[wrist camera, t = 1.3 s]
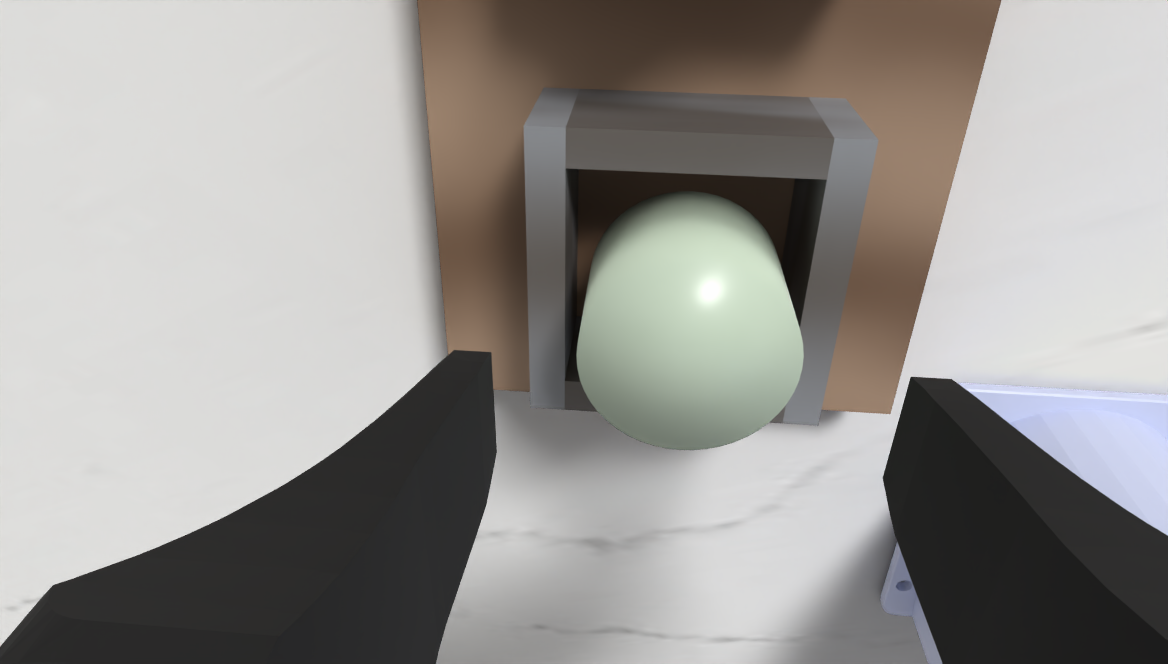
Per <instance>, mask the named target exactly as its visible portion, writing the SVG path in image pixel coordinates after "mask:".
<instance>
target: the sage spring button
mask: <svg viewBox="0 0 1168 664" xmlns="http://www.w3.org/2000/svg"><path fill="white" fill-rule="evenodd" d="M576 356H577V369H578V373H579V378H580V381H581V384H582V386H583V389H584V391H585V393H586V395H587V397H588V399H589V400H590V402H591V403H592V405H593V406H594V407H595V409H596V410H597V411H598V412H599V413H600V414H601V415H602V416H603V417H604V418H605V419H606V421H608V422H609V423H610V424H612V425H613V426H614V427H615V428H617V429H618V430H620V431H621V432H623V433H625V434H626V435H628V436H630V437H632V438H635V439H637V440H639V441H641V442H644V443H647V444H650V445H654V446H658V447H662V448H668V449H676V450H700V449H709V448H714V447H720V446H723V445H727V444H730V443H733V442H736V441H738V440H740V439H743V438H745V437H747V436H749V435H751V434H753V433H754V432H756V431H758V430H759V429H761V428H762V427H764V426H765V425H766V424H768V423H769V422H770V421H771V420H772V419H773V418H774V417H776V416H777V415H778V414H779V413H780V411H781V410H782V409H783V408H784V407H785V405H786V404H787V403H788V401H789V400H790V398H791V396H792V395H793V393H794V391H795V389H796V387H797V384H798V382H799V379H800V375H801V372H802V367H803V358H804V352H803V341H802V336H801V332H800V328H799V325H798V321H797V318H796V315H795V311H794V308H793V305H792V301H791V298H790V295H789V291H788V288H787V285H786V281H785V278H784V275H783V271H782V268H781V265H780V261H779V258H778V255H777V252H776V249H775V246H774V244H773V241H772V239H771V238H770V236H769V234H768V232H767V231H766V229H765V228H764V227H763V226H762V224H761V223H760V222H759V221H758V220H757V219H756V218H755V217H754V216H753V215H752V214H751V213H750V212H748V211H747V210H745V209H744V208H743V207H741V206H740V205H738V204H736V203H734V202H732V201H730V200H728V199H725V198H722V197H720V196H717V195H713V194H708V193H703V192H694V191H679V192H672V193H665V194H661V195H658V196H654V197H651V198H649V199H646V200H644V201H641V202H640V203H638V204H636V205H634V206H632V207H631V208H629V209H628V210H627V211H625V212H624V213H623V214H621V215H620V216H619V217H618V218H617V219H616V220H615V221H614V222H613V223H612V224H611V225H610V226H609V227H608V229H607V230H606V231H605V233H604V234H603V236H602V238H601V239H600V241H599V243H598V245H597V247H596V250H595V252H594V255H593V260H592V264H591V269H590V275H589V280H588V286H587V292H586V298H585V303H584V309H583V315H582V321H581V326H580V332H579V338H578V344H577V355H576Z"/></svg>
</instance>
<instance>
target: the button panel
mask: <svg viewBox="0 0 1168 664" xmlns="http://www.w3.org/2000/svg"><path fill="white" fill-rule="evenodd" d="M417 3H418V14H419V26H420V37H421V49H422V60H423V72H424V83H425V95H426V106H427V118H428V129H429V141H430V152H431V164H432V175H433V187H434V198H435V210H436V221H437V233H438V244H439V256H440V267H441V279H442V290H443V302H444V313H445V325H446V336H447V348H448V355H449V354H450V353H451V352H452V351H454V350H464V351H481V352H491V355H492V374H493V390H509V391H525V392H530V407H533V408H549V409H565V410H580V411H596V412H598V411H597V410H596V409H595V407H594V406H593V405H592V403H591V402H590V400H589V399H588V397H587V395H586V393H585V391H584V389H583V386H582V384H581V381H580V378H579V373H578V369H577V356H576V355H577V344H578V338H579V332H580V326H581V321H582V315H583V309H584V303H585V298H586V292H587V286H588V280H589V275H590V269H591V264H592V260H593V255H594V252H595V250H596V247H597V245H598V243H599V241H600V239H601V238H602V236H603V234H604V233H605V231H606V230H607V229H608V227H609V226H610V225H611V224H612V223H613V222H614V221H615V220H616V219H617V218H618V217H619V216H620V215H621V214H623V213H624V212H625V211H627V210H628V209H629V208H631V207H632V206H634V205H636V204H638V203H640V202H641V201H644V200H646V199H649V198H651V197H654V196H658V195H661V194H665V193H672V192H679V191H694V192H703V193H708V194H713V195H717V196H720V197H722V198H725V199H728V200H730V201H732V202H734V203H736V204H738V205H740V206H741V207H743V208H744V209H745V210H747V211H748V212H750V213H751V214H752V215H753V216H754V217H755V218H756V219H757V220H758V221H759V222H760V223H761V224H762V226H763V227H764V228H765V229H766V231H767V232H768V234H769V236H770V238H771V239H772V241H773V244H774V246H775V249H776V252H777V255H778V258H779V261H780V265H781V268H782V271H783V275H784V278H785V281H786V285H787V288H788V291H789V295H790V298H791V301H792V305H793V308H794V311H795V315H796V318H797V321H798V325H799V328H800V332H801V336H802V341H803V352H804V358H803V367H802V372H801V375H800V379H799V382H798V384H797V387H796V389H795V391H794V393H793V395H792V396H791V398H790V400H789V401H788V403H787V404H786V405H785V407H784V408H783V409H782V410H781V411H780V413H779V414H778V415H777V416H776V417H774V418H773V419H772V420H771V421H770V422H771V423H787V424H803V425H818V424H819V419H820V415H821V410H833V411H849V412H866V413H882V414H890V413H891V409H892V405H893V402H894V398H895V394H896V391H897V387H898V383H899V379H900V376H901V372H902V368H903V364H904V361H905V357H906V353H907V350H908V346H909V342H910V338H911V335H912V331H913V327H914V323H915V320H916V316H917V312H918V309H919V305H920V301H921V297H922V294H923V290H924V286H925V282H926V279H927V275H928V271H929V268H930V264H931V260H932V256H933V253H934V249H935V245H936V242H937V238H938V234H939V230H940V227H941V223H942V219H943V215H944V212H945V208H946V204H947V201H948V197H949V193H950V189H951V186H952V182H953V178H954V174H955V171H956V167H957V163H958V160H959V156H960V152H961V148H962V145H963V141H964V137H965V134H966V130H967V126H968V122H969V119H970V115H971V111H972V107H973V104H974V100H975V96H976V93H977V89H978V85H979V81H980V78H981V74H982V70H983V66H984V63H985V59H986V55H987V52H988V48H989V44H990V40H991V37H992V33H993V29H994V25H995V22H996V18H997V14H998V11H999V7H1000V3H1001V0H417Z"/></svg>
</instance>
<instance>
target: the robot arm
mask: <svg viewBox="0 0 1168 664" xmlns="http://www.w3.org/2000/svg"><path fill="white" fill-rule="evenodd" d="M496 453H497V449H496V430H495V411H494V393H493V374H492V355H491V352H481V351H464V350H454V351H452V352H451V353H450V354H449V355H448V356H447V357H446V358H444V359H443V360H442V361H441V362H440V363H439V364H438V365H437V366H436V367H434V368H433V369H432V370H431V371H430V372H429V373H428V374H427V375H426V376H425V377H424V378H423V379H422V380H420V381H419V382H418V383H417V384H416V385H415V386H414V387H413V388H412V389H411V390H410V391H408V392H407V393H406V394H405V395H404V396H403V397H402V398H401V399H399V400H398V401H397V402H396V403H395V404H394V405H393V406H391V407H390V408H389V409H388V410H387V411H386V412H385V413H383V414H382V415H381V416H380V417H379V418H378V419H376V420H375V421H374V422H373V423H371V424H370V425H369V426H368V427H366V428H365V429H364V430H362V431H361V432H360V433H359V434H357V435H356V436H355V437H354V438H352V439H351V440H350V441H348V442H347V443H346V444H345V445H343V446H342V447H341V448H339V449H338V450H336V451H335V452H334V453H332V454H331V455H329V456H328V457H327V458H325V459H324V460H322V461H321V462H319V463H318V464H316V465H315V466H313V467H312V468H310V469H308V470H307V471H305V472H304V473H302V474H301V475H299V476H297V477H296V478H294V479H293V480H291V481H289V482H288V483H286V484H284V485H283V486H281V487H279V488H278V489H276V490H274V491H272V492H270V493H268V494H267V495H265V496H263V497H261V498H259V499H257V500H255V501H254V502H252V503H250V504H248V505H246V506H244V507H242V508H241V509H239V510H237V511H235V512H233V513H231V514H229V515H228V516H226V517H224V518H222V519H220V520H218V521H215V522H213V523H211V524H209V525H207V526H205V527H203V528H200V529H198V530H196V531H194V532H192V533H190V534H187V535H185V536H183V537H180V538H178V539H176V540H173V541H171V542H169V543H166V544H164V545H162V546H159V547H157V548H155V549H152V550H150V551H147V552H145V553H142V554H140V555H137V556H135V557H132V558H129V559H126V560H124V561H121V562H118V563H115V564H112V565H110V566H107V567H104V568H101V569H99V570H96V571H93V572H90V573H87V574H85V575H82V576H79V577H76V578H74V579H71V580H68V581H65V582H62V583H58V584H55V585H53V586H52V587H51V588H50V589H49V590H48V591H47V593H46V594H45V595H44V596H43V597H42V598H41V599H40V600H39V602H38V603H37V604H36V605H35V606H34V607H33V609H32V610H31V611H30V612H29V613H28V614H27V616H26V617H25V618H24V619H23V620H22V622H21V623H20V624H19V625H18V626H17V627H16V629H15V630H14V631H13V632H12V633H11V635H10V636H9V637H8V638H7V639H6V641H5V642H4V643H3V644H2V645H1V646H0V664H436V660H437V656H438V651H439V647H440V644H441V641H442V637H443V634H444V630H445V627H446V623H447V620H448V617H449V614H450V611H451V608H452V605H453V603H454V600H455V597H456V594H457V591H458V588H459V585H460V582H461V579H462V576H463V573H464V570H465V567H466V564H467V561H468V558H469V555H470V552H471V549H472V547H473V544H474V541H475V538H476V535H477V532H478V529H479V526H480V523H481V519H482V516H483V513H484V510H485V507H486V503H487V499H488V494H489V489H490V484H491V479H492V474H493V468H494V463H495V458H496ZM883 481H884V486H885V491H886V496H887V501H888V506H889V511H890V515H891V520H892V524H893V529H894V533H895V536H896V539H897V544H896V547H895V551H894V554H893V557H892V560H891V564H890V567H889V570H888V573H887V577H886V580H885V583H884V586H883V590H882V593H881V596H880V601H881V605H882V608H883V609H884V611H885V612H887V613H888V614H892V615H901V616H912V617H913V620H914V623H915V626H916V629H917V632H918V635H919V638H920V641H921V644H922V647H923V650H924V653H925V656H926V659H927V662H928V664H1168V395H1162V394H1145V393H1128V392H1111V391H1094V390H1077V389H1060V388H1043V387H1026V386H1009V385H992V384H975V383H956V382H955V381H953V380H952V379H939V378H922V377H911V378H910V382H909V385H908V389H907V393H906V396H905V400H904V403H903V407H902V411H901V414H900V418H899V421H898V425H897V429H896V432H895V436H894V439H893V443H892V447H891V450H890V454H889V458H888V461H887V465H886V468H885V472H884V476H883ZM904 580H906V581H904ZM900 581H904V582H900Z"/></svg>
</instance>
